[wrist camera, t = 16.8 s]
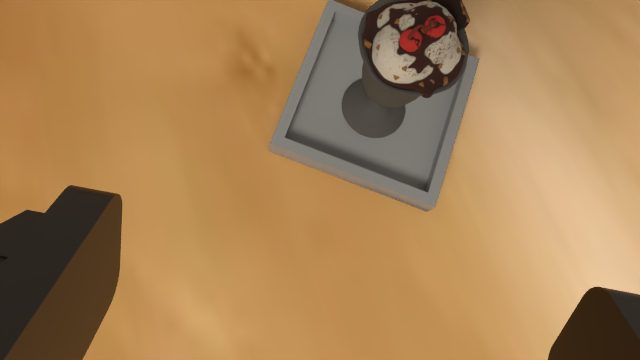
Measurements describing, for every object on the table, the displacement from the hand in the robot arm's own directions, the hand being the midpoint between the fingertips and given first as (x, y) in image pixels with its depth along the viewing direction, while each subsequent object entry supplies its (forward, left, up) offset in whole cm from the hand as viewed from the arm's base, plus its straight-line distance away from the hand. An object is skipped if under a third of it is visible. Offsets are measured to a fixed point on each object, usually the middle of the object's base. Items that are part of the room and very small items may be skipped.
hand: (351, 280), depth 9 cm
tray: (+2, +17, -29) cm, 33 cm away
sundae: (+2, +16, -28) cm, 33 cm away
